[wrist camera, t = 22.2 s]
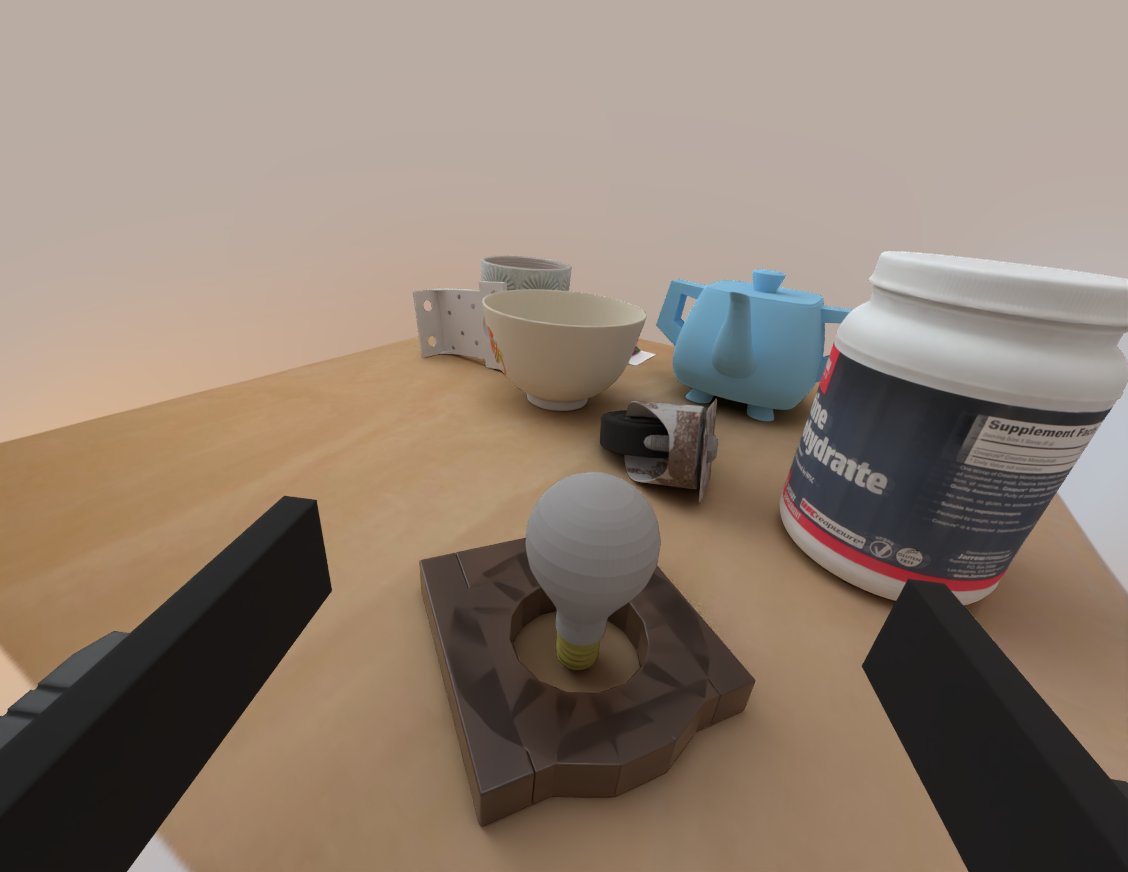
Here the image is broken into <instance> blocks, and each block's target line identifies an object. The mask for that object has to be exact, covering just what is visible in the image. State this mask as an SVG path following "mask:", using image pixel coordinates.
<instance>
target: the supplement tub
mask: <svg viewBox="0 0 1128 872" xmlns="http://www.w3.org/2000/svg"><path fill="white" fill-rule="evenodd" d="M869 282H870V283H871V284H873V290H874V291H873V293H872V296H871V299H870V300H869V301H868V302H866V303H864V304H861V305H860V306H858V307H856V308H855V309H854V310H852V311H851V312H850V313H849V314H848V315H847V316H846V317H845V319H844V320H843V322H842V323H841V325H840V327H839V329H838V331H837V332H836V339H835V342H834V344H833V347H832V350H831V353H830V356H829V359H828V362H827V364H826V367H825V370H824V373H823V376H822V379H821V382H820V385H819V388H818V391H817V394H816V396H815V399H814V402H813V405H812V408H811V411H810V414H809V417H808V420H807V422H806V425H805V428H804V431H803V434H802V437H801V440H800V443H799V446H798V448H797V451H796V454H795V457H794V460H793V463H792V466H791V469H790V472H789V474H788V477H787V480H786V483H785V486H784V489H783V491H782V493H781V495H780V506H779V507H780V515H781V519H782V521H783V524H784V526H785V528H786V530H787V532H788V533H789V535H790V536H791V538H792V539H793V541H794V542H795V543H796V544H797V545H798V546H799V547H800V548H801V549H802V550H803V551H804V552H805V553H806V554H807V555H808V556H809V557H810V558H812V559H813V560H814V561H815V562H817V563H818V564H819V565H821V566H822V567H823V568H825V569H826V570H828V571H829V572H831V573H833V574H834V575H836V576H838V577H839V578H841V579H843V580H845V581H847V582H848V583H850V584H852V585H854V586H857V587H859V588H861V589H863V590H865V591H868V592H871V593H873V594H876V595H878V596H881V597H884V598H887V599H890V600H894V601H896V600H897V599H898V597H899V595H900V593H901V591H902V589H903V587H904V585H905V583H906V581H907V580H908V579H915V580H922V581H930V582H937V583H945V584H946V585H947V587H948V588H949V589H950V590H951V591H952V592H953V594H954V595H955V596H956V597H957V598H958V600H959V601H960V602H961V603H962V604H963V605H968V604H972V603H974V602H977V601H979V600H981V599H983V598H984V597H986V596H987V595H989V594H990V593H991V592H993V591H994V590H995V589H996V588H997V586H998V584H999V581H1000V579H1001V577H1002V576H1003V574H1004V573H1005V571H1006V570H1007V568H1008V567H1009V565H1010V564H1011V562H1012V561H1013V559H1014V557H1015V556H1016V554H1017V553H1018V551H1019V550H1020V548H1021V546H1022V545H1023V543H1024V542H1025V540H1026V539H1027V537H1028V535H1029V534H1030V532H1031V531H1032V529H1033V528H1034V526H1035V525H1036V523H1037V522H1038V520H1039V518H1040V517H1041V515H1042V514H1043V512H1044V511H1045V509H1046V508H1047V506H1048V505H1049V503H1050V501H1051V500H1052V498H1053V497H1054V495H1055V494H1056V492H1057V491H1058V489H1059V487H1060V486H1061V485H1062V483H1063V482H1064V480H1065V478H1066V477H1067V475H1068V474H1069V472H1070V471H1071V469H1072V468H1073V466H1074V465H1075V463H1076V462H1077V460H1078V459H1079V457H1080V456H1081V454H1082V453H1083V451H1084V450H1085V448H1086V446H1087V445H1088V443H1089V442H1090V440H1091V439H1092V437H1093V436H1094V434H1095V433H1096V431H1097V429H1098V428H1099V427H1100V425H1101V423H1102V422H1103V420H1104V419H1105V417H1106V416H1107V414H1108V413H1109V412H1110V410H1111V408H1112V407H1113V405H1114V404H1115V402H1116V401H1117V400H1118V399H1119V398H1120V397H1121V396H1122V394H1123V390H1124V388H1125V386H1126V384H1127V382H1128V362H1127V359H1126V358H1125V356H1124V354H1123V353H1122V352H1121V350H1120V349H1119V348H1118V347H1117V344H1118V342H1119V340H1120V339H1121V337H1122V336H1123V334H1124V333H1126V332H1128V279H1125V278H1119V277H1113V276H1106V275H1100V274H1094V273H1087V272H1080V271H1073V270H1066V269H1058V268H1051V267H1043V266H1034V265H1028V264H1019V263H1011V262H1002V261H993V260H985V259H976V258H967V257H958V256H948V255H939V254H929V253H917V252H901V251H887V252H884V253H882V254H881V255H880V257H879V260H878V262H877V265H876V268H875V270H874V273H873V275H872V276H871V277H870V278H869Z"/></svg>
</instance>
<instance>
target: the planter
mask: <svg viewBox="0 0 1128 872" xmlns="http://www.w3.org/2000/svg"><path fill="white" fill-rule="evenodd" d="M571 269H572V267H571V266H570V265H569V264H566V263H563V262H559V261H554V260H549V259H541V258H534V257H522V256H490V257H484V258H482V259H481V282H482V281H488V282H507V291H510V290H528V289H539V290H561V291H569V285H570V276H571ZM495 293H497V292H495Z"/></svg>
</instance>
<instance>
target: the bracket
mask: <svg viewBox="0 0 1128 872" xmlns="http://www.w3.org/2000/svg"><path fill="white" fill-rule="evenodd" d="M502 291H507V282H488V281H482V282H479V290H463V289H444V288H441V289H431V290H423V291H414V292H413V297H414V303H415V311H416V318H417V326H418V333H419V341H420V349H421V356H422V358H425V357H429V356H433V355H437V354H457V355H463V356H470V357H476V358H482V359H485V363H486V367H487V368H493V369H499V370H501V369H500V367H499V366H498V364H497V362H496V360H495V357H494V354H493V351H492V348H491V343H490V339H489V335H488V331H487V326H486V321H485V316H484V311H483V305H482V300H483V298H485V297H486V296H488V295H490V294H493V293H495V292H502ZM426 300H429V301H430V303H431V309H430V310H429V311H426V310H425V309H424V307H423V304H424V302H425V301H426ZM430 336H434V337H435V340H436V342H435V344H434V345H433V346H430V345H429V344H428V339H429V337H430Z"/></svg>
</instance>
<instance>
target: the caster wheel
mask: <svg viewBox="0 0 1128 872" xmlns="http://www.w3.org/2000/svg"><path fill="white" fill-rule="evenodd" d="M716 406H717V399H715V401H714V402H713V403H712V404H711V406H710V407H709V408H708V409H707V414H706V410H705V407H703V406H694V405H681V404H668V403H655V402H642V401H631V402H630V403H629V405H628V409H627V410H624V411H614V412H608V413H605V414H603V415H602V417H601V433H600V444H601V446H603V447H604V448H605V449H608V450H610V451H613V452H616V453H620V454H624V456H625V466H626V471H627V474H628V476H629V477H630V478H631V479H633V480H634V481H637V482H644V483H651V484H659V485H667V486H674V487H682V488H689V489H696V488H697V486H698V483H699V479H700V475H701V483H700V495H699V504H700V502H701V500H702V498H703V495H704V492H705V490H706V487H707V485H708V482H709V480H710V473H711V462H712V461H713V460H714V459H715V458H716V455H717V446H718V439H717V438H716V436H715V435H714V428H715V417H716ZM701 471H702V472H701Z"/></svg>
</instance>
